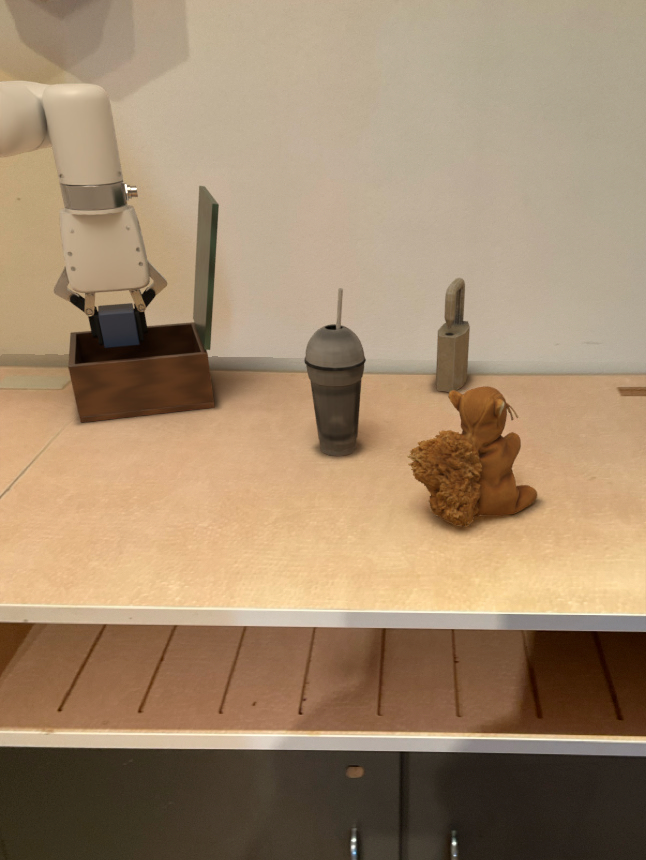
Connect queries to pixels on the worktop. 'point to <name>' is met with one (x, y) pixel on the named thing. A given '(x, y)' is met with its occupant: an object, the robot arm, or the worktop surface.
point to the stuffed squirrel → (473, 462)
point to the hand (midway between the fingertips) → (121, 339)
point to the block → (118, 325)
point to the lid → (205, 265)
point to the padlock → (453, 341)
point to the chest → (140, 374)
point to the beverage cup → (336, 384)
